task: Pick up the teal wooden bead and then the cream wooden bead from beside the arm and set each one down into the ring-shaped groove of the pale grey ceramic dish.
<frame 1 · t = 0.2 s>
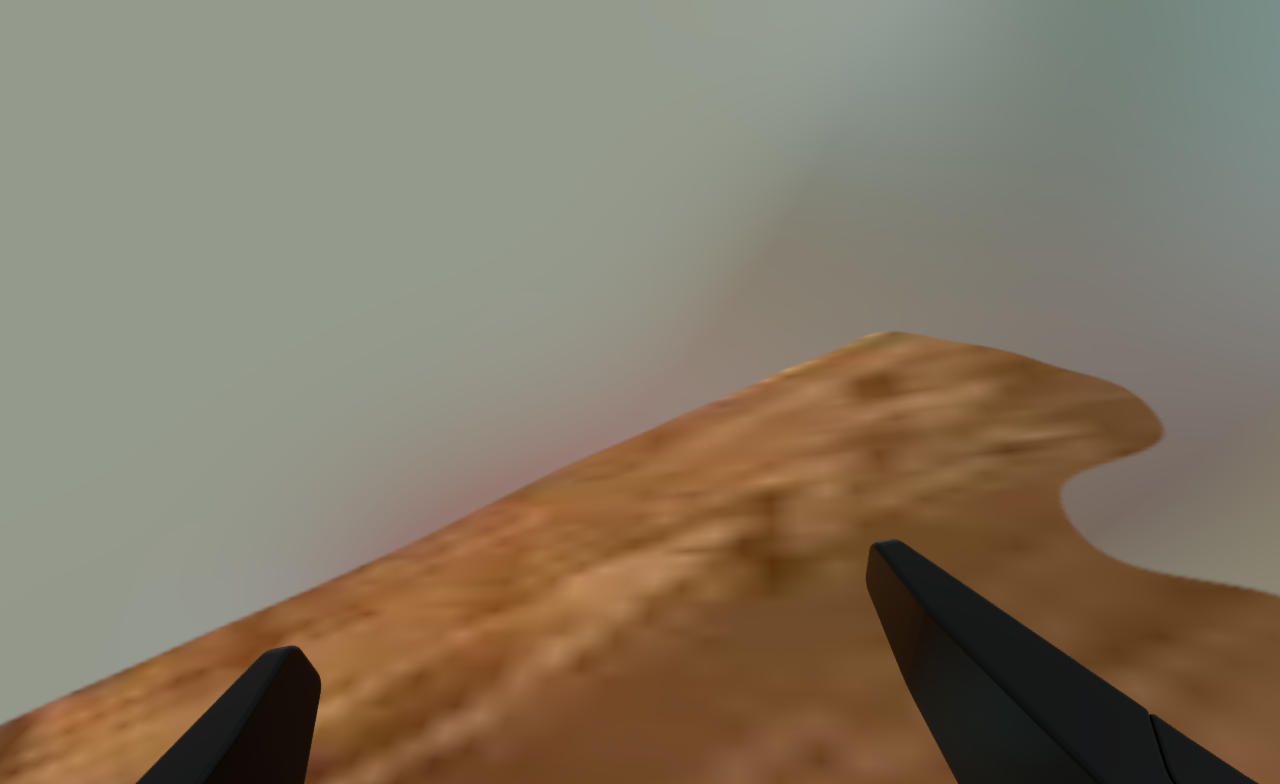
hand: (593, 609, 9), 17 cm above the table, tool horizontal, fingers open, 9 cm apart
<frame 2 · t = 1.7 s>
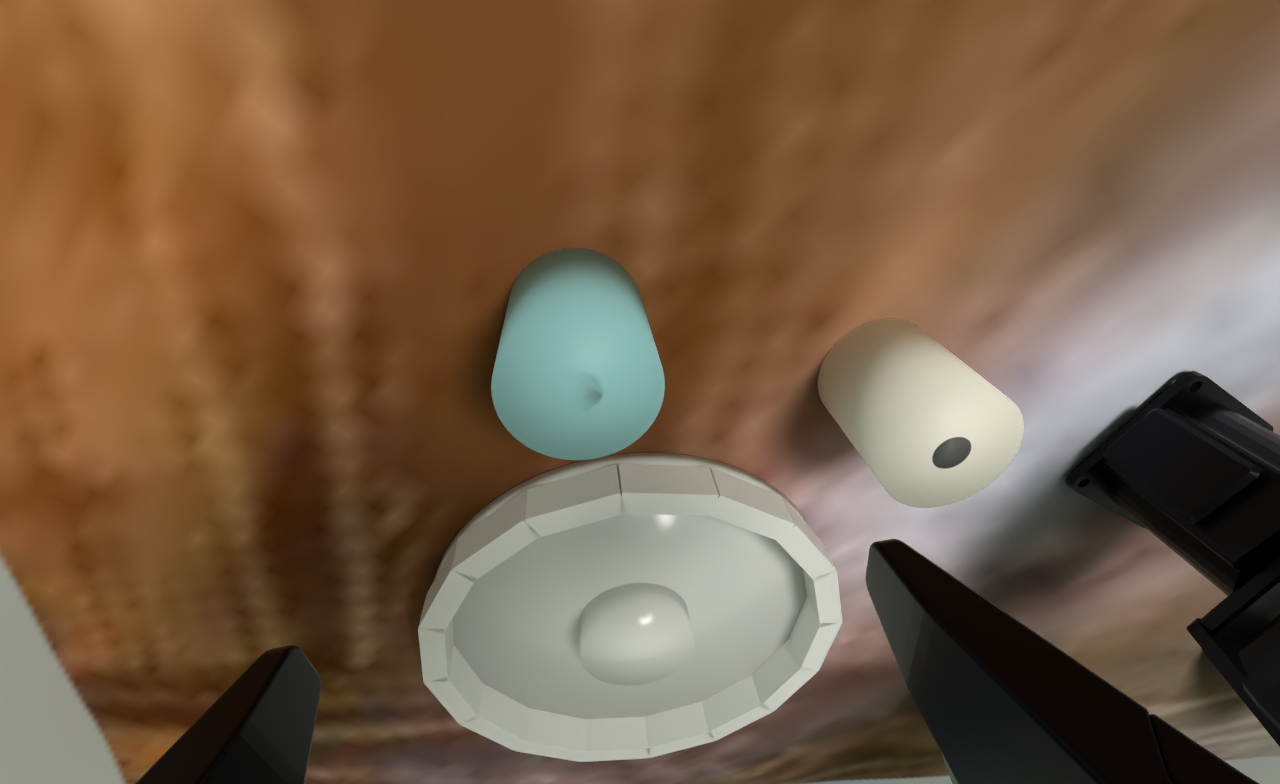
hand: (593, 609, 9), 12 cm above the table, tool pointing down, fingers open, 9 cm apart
cream bead: (874, 372, 21), on the table
teal bead: (576, 313, 19), on the table
groove dish: (632, 605, 27), on the table
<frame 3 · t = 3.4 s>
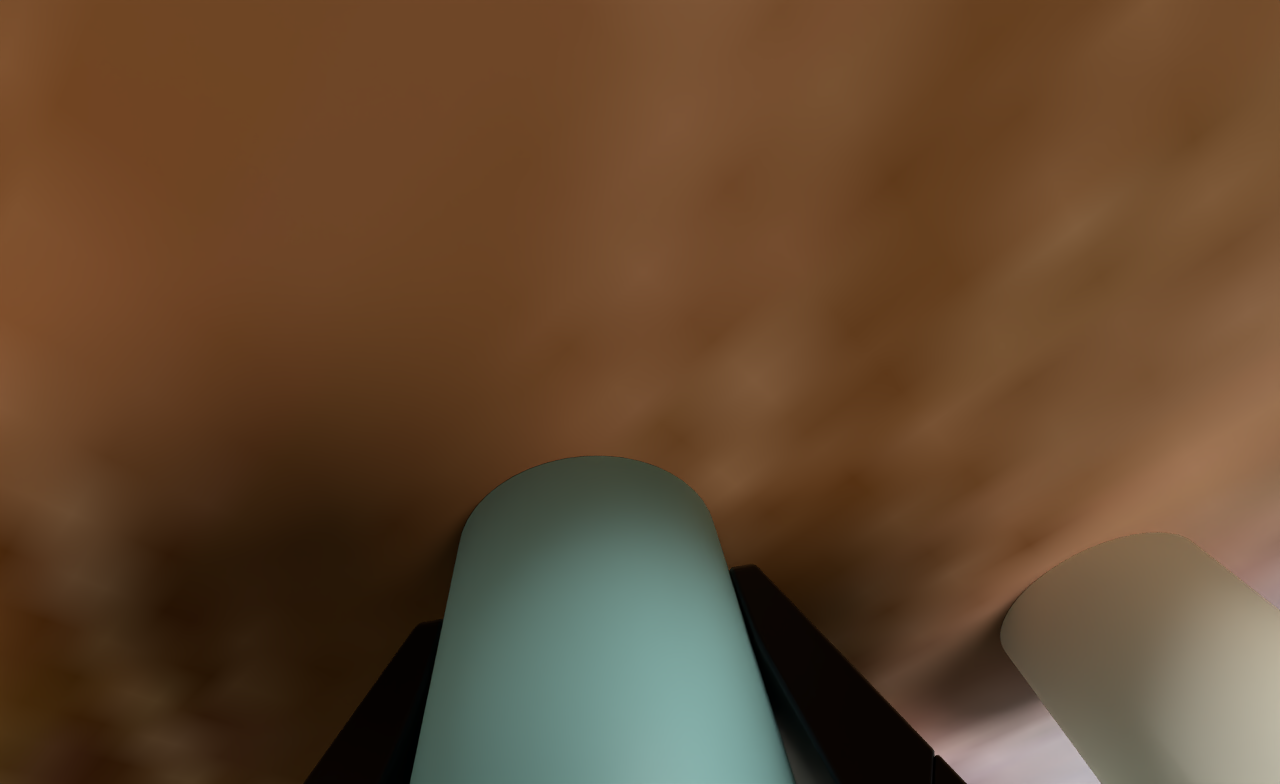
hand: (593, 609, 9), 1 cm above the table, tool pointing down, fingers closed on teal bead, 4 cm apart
cream bead: (1098, 604, 12), on the table
teal bead: (590, 557, 10), on the table, touching gripper
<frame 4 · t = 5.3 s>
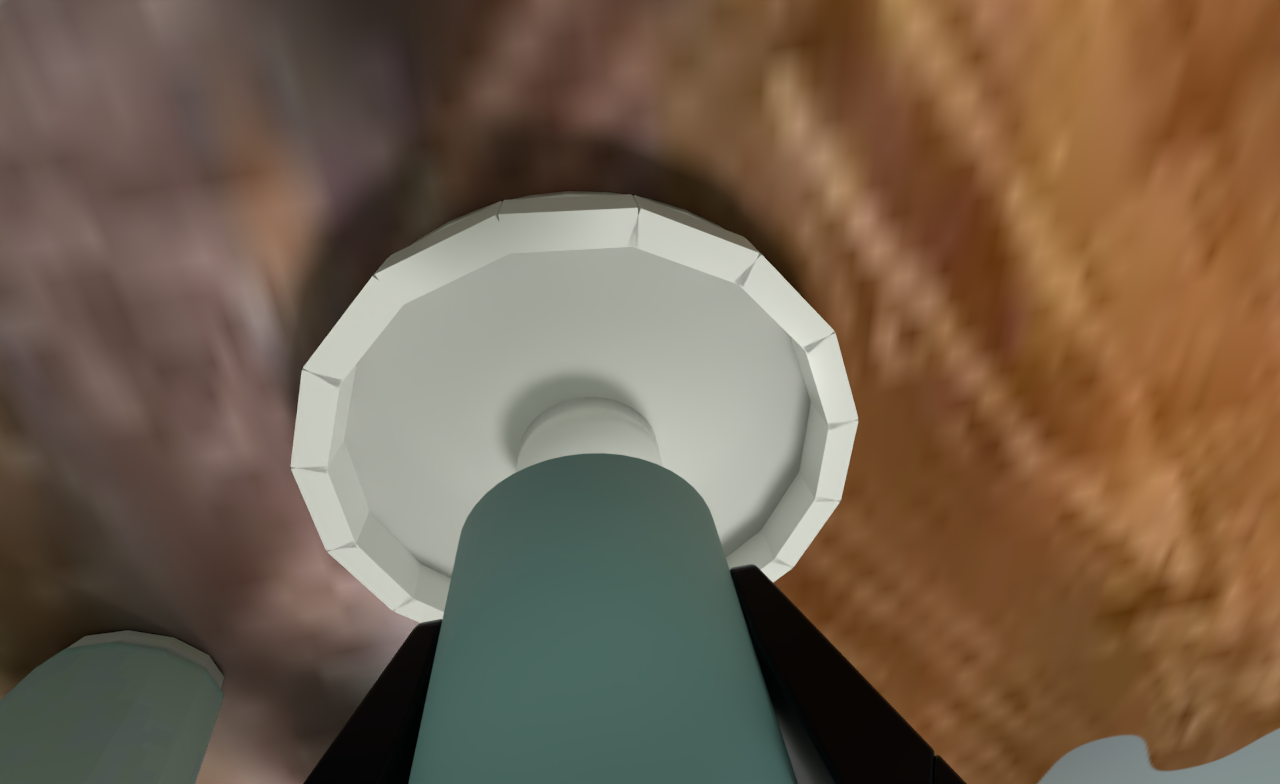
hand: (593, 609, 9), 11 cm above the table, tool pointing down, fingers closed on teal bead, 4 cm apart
disposable coffee cup: (154, 668, 25), on the table
teal bead: (590, 555, 10), point 10 cm above the table, touching gripper
groove dish: (588, 443, 21), on the table
when the fingers open (3 cm above the table, at t = 7.2 s): teal bead drops 1 cm, resting on groove dish.
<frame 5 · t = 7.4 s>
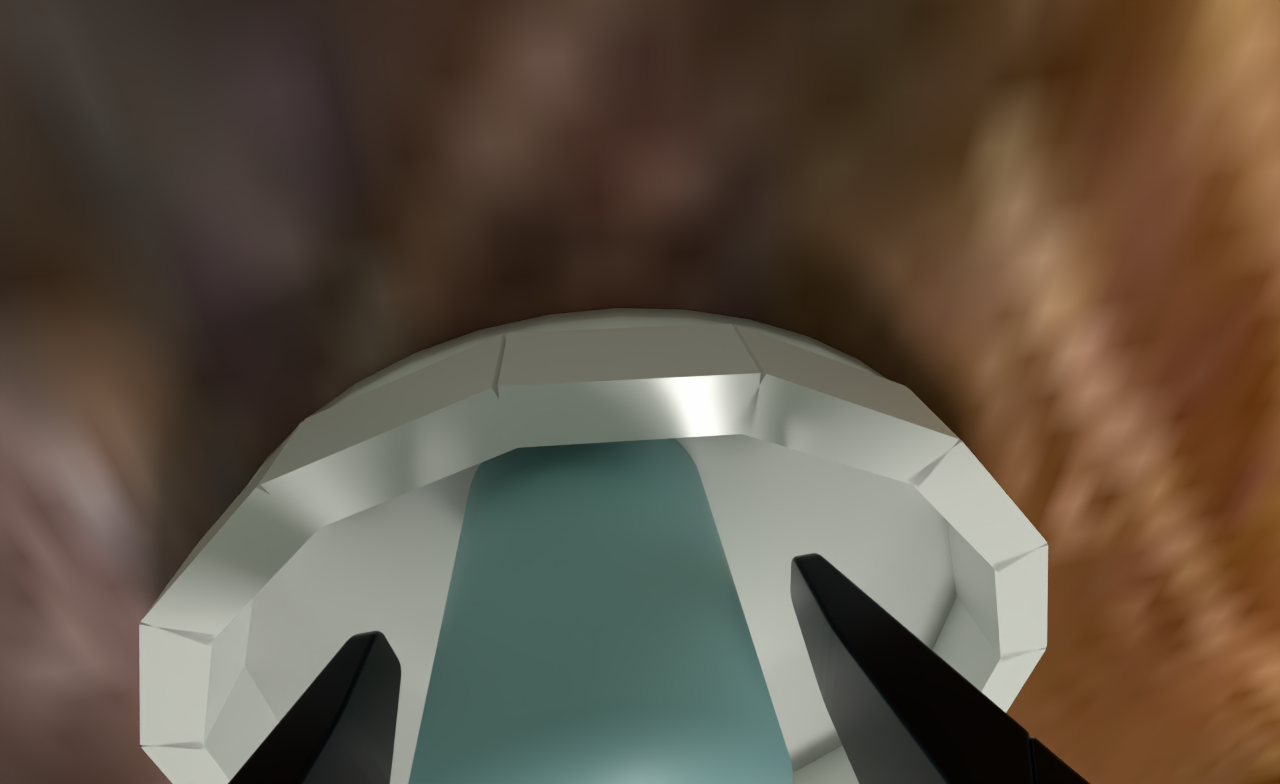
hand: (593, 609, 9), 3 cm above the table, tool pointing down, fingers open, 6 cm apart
teal bead: (588, 508, 11), point 1 cm above the table, touching groove dish
groove dish: (621, 640, 14), on the table
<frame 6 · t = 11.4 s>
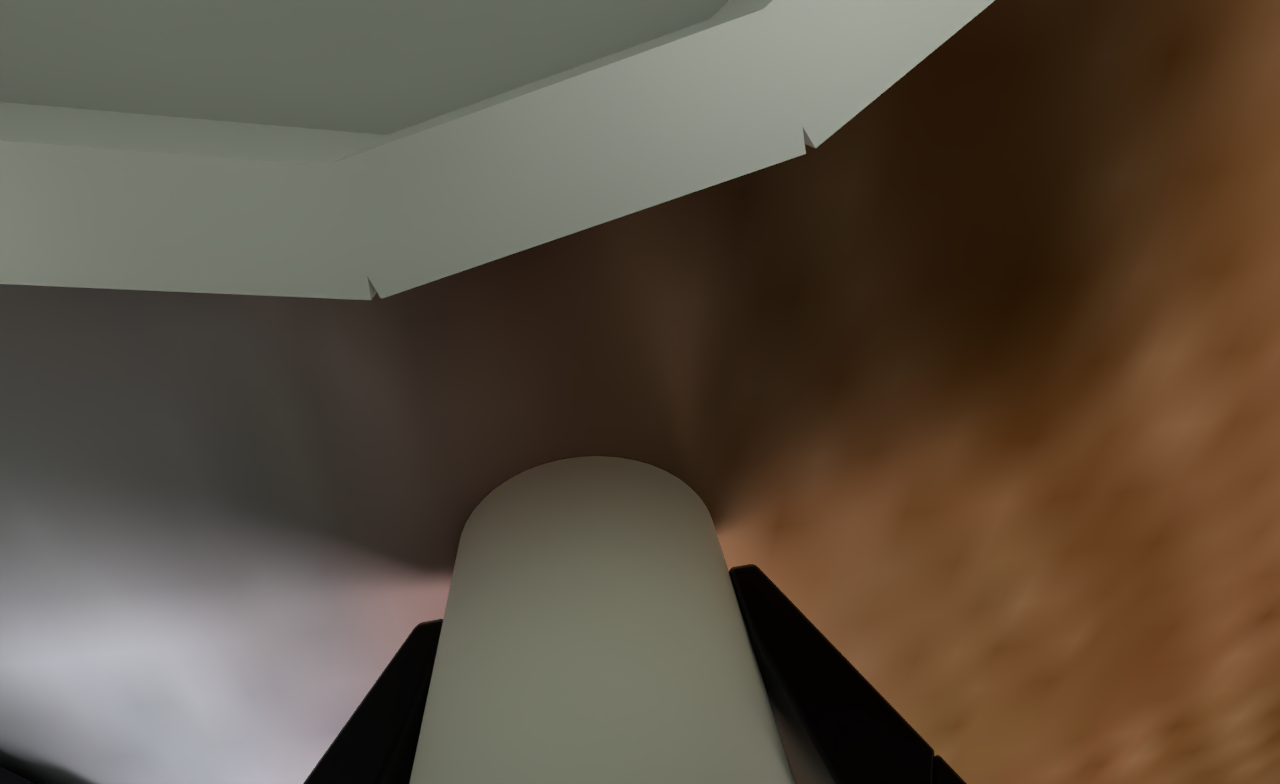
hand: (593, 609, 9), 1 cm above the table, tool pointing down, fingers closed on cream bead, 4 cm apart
cream bead: (590, 557, 10), on the table, touching gripper
when the fingers open (3 cm above the table, at t = 14.7 s): cream bead drops 1 cm, resting on groove dish.
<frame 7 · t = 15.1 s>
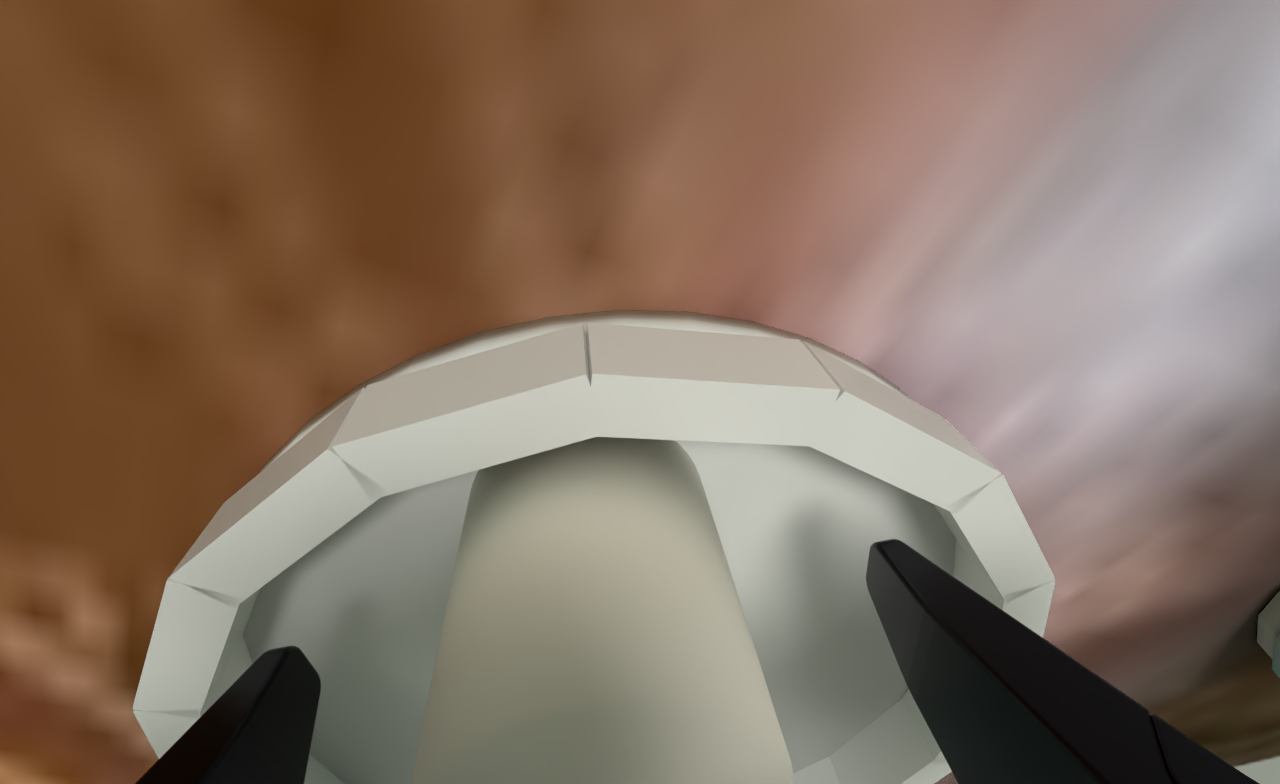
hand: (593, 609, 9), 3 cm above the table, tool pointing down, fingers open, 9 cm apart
cream bead: (588, 509, 11), point 1 cm above the table, touching groove dish
groove dish: (622, 641, 14), on the table
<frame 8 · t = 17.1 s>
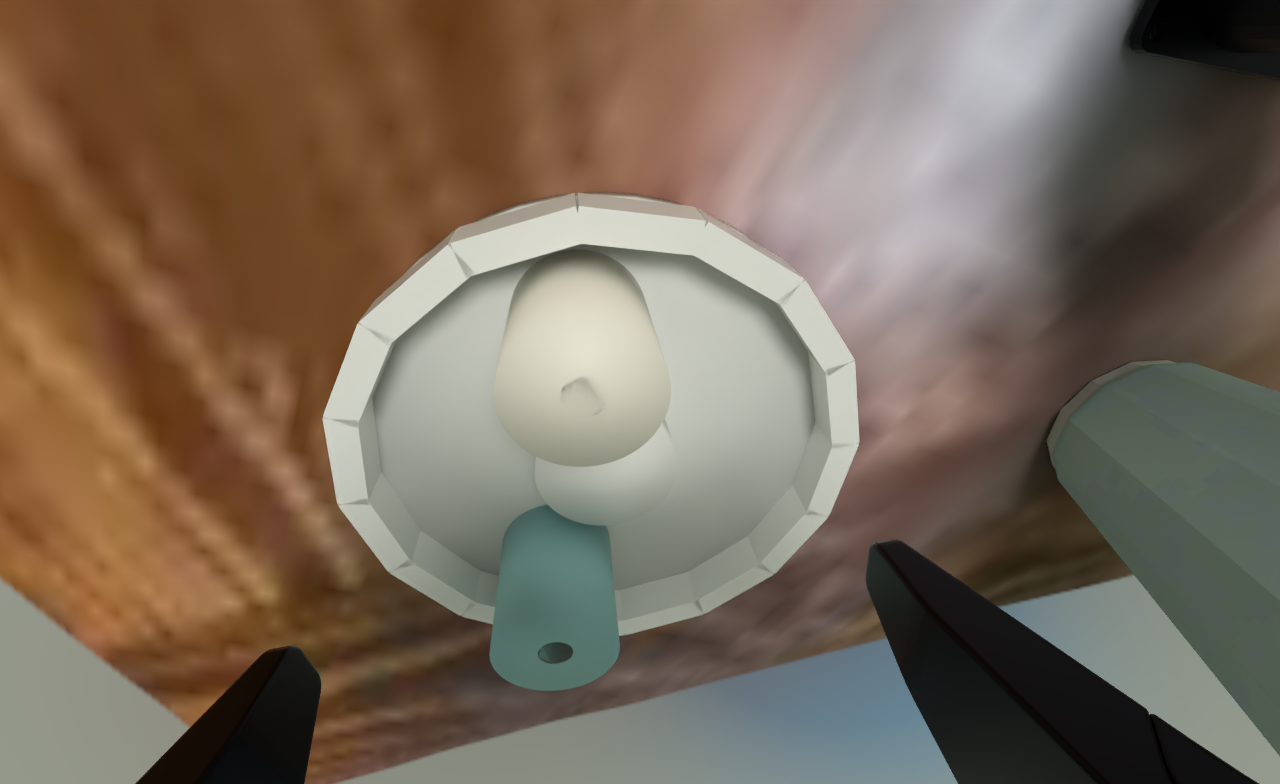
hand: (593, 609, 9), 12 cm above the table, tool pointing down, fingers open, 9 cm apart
cream bead: (579, 316, 18), point 1 cm above the table, touching groove dish
disposable coffee cup: (1106, 417, 25), on the table
teal bead: (557, 543, 23), point 1 cm above the table, touching groove dish
groove dish: (602, 433, 22), on the table
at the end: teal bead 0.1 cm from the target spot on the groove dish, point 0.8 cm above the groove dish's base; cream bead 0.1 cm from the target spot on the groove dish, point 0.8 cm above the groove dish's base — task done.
